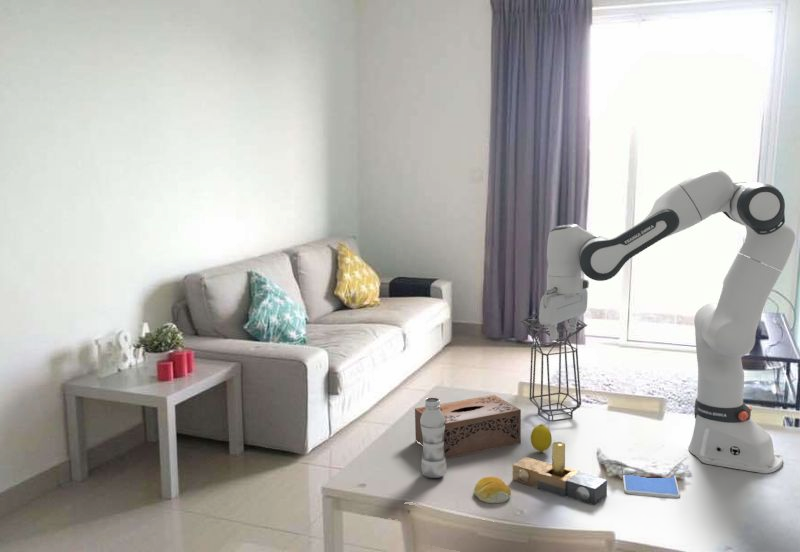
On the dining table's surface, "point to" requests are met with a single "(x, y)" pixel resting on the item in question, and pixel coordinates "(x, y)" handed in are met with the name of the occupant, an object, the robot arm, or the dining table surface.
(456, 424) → the tissue box cover
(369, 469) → the dining table surface
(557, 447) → the brass pin
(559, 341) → the geometric lantern
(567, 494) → the block
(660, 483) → the tablet computer
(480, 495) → the bread roll
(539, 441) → the lemon
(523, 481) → the block
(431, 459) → the plastic bottle
